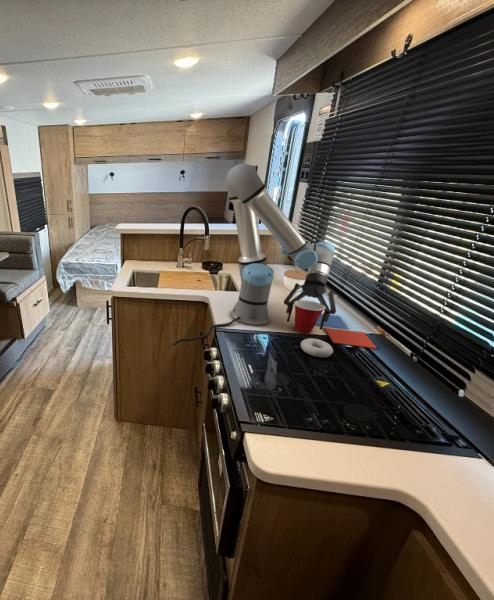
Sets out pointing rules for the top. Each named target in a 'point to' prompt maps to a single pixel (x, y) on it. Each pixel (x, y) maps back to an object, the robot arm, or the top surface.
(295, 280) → the white bowl with cork
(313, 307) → the plastic cup
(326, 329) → the red mat
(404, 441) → the top surface
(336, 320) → the blue mat
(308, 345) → the donut
